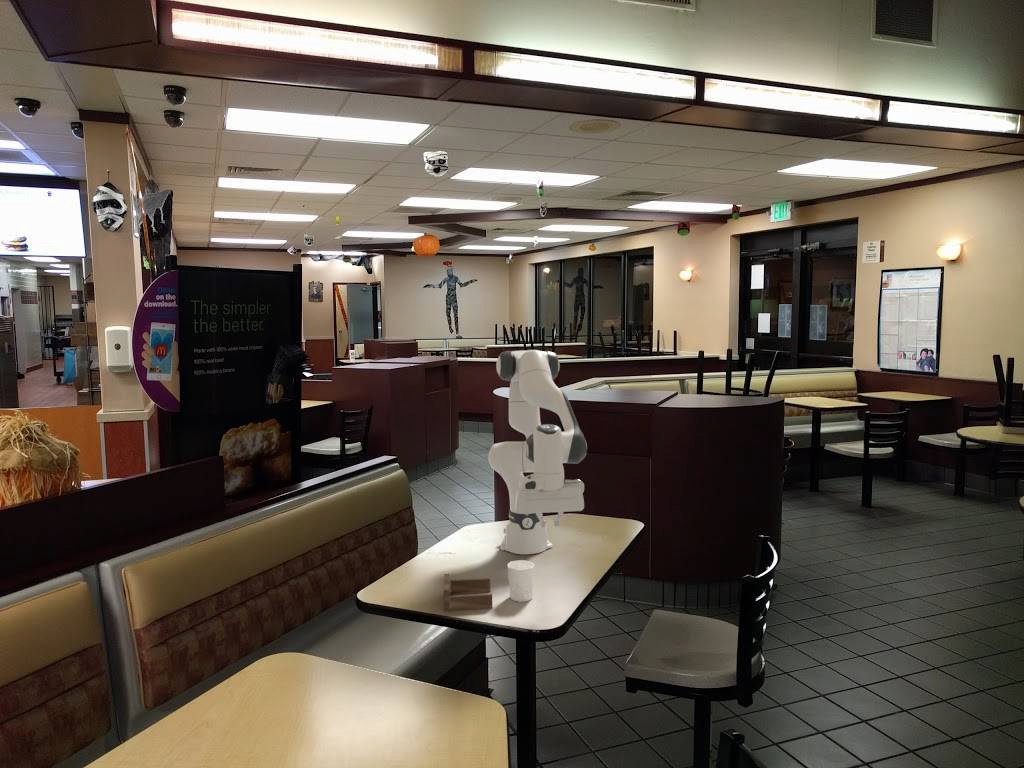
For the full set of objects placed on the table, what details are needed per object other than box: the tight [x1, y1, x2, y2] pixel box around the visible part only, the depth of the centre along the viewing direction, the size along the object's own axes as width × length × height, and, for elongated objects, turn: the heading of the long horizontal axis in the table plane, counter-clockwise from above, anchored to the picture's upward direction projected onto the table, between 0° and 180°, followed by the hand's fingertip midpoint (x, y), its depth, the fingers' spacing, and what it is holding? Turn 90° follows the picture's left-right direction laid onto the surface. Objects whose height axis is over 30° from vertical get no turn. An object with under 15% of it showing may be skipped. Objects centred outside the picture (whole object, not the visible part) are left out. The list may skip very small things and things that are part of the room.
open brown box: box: [443, 573, 494, 612], centre depth 199 cm, size 13×14×6 cm
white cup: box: [506, 559, 535, 603], centre depth 200 cm, size 8×8×10 cm
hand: (550, 526), depth 200 cm, fingers open, 3 cm apart
